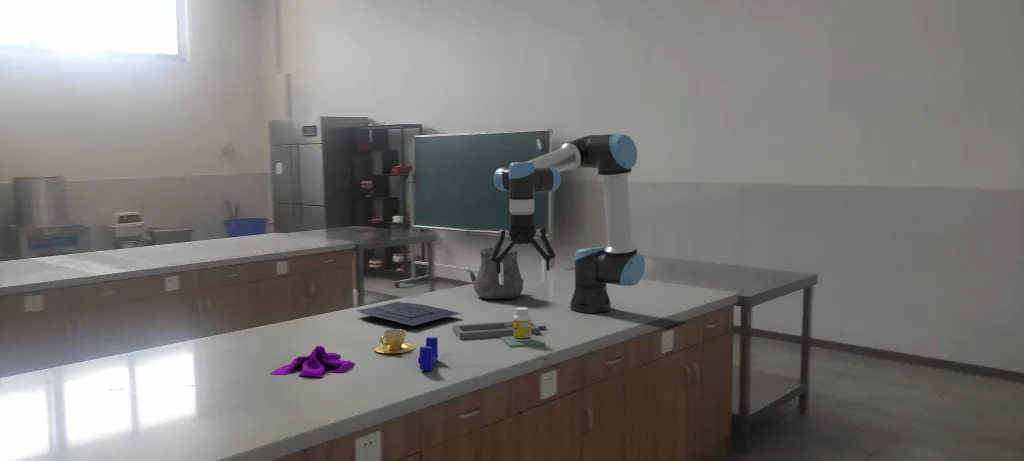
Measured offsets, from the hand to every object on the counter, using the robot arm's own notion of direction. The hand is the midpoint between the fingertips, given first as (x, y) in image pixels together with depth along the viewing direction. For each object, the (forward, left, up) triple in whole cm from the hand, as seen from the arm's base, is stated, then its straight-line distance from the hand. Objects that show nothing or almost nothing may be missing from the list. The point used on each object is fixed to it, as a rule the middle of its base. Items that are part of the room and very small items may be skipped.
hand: (522, 282), depth 226 cm
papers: (+31, -41, -19) cm, 55 cm away
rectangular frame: (+5, -14, -18) cm, 23 cm away
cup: (+39, -2, -19) cm, 43 cm away
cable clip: (+32, +16, -19) cm, 40 cm away
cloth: (+62, +11, -19) cm, 66 cm away
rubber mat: (0, 0, -18) cm, 18 cm away
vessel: (-11, -71, -19) cm, 74 cm away
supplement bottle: (0, 0, -18) cm, 18 cm away
